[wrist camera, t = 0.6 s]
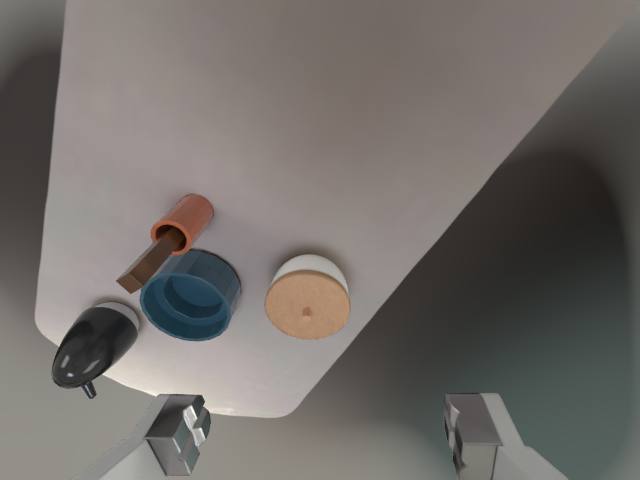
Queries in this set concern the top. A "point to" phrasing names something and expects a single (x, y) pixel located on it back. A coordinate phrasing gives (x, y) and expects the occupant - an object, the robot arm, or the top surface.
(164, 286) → the mixing bowl
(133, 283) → the stirring stick
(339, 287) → the lidded bowl
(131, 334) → the black rounded egg shape
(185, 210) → the pot
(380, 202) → the top surface
